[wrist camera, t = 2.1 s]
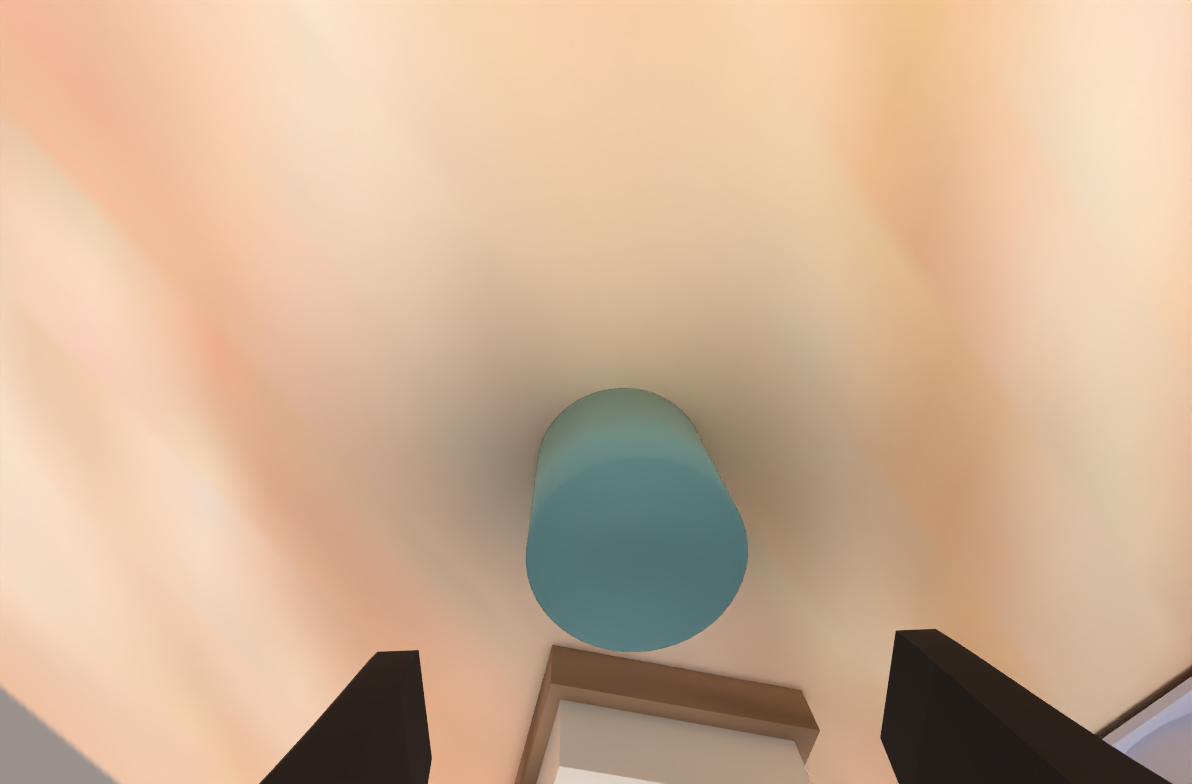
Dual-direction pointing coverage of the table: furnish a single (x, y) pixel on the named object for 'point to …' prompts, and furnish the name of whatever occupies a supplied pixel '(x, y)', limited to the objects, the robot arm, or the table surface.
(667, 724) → the off-white slab
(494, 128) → the table surface
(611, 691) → the walnut slab
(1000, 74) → the table surface
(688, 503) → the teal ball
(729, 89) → the table surface
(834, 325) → the table surface
